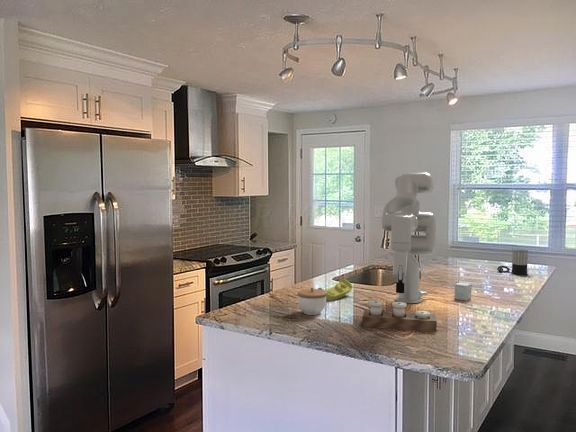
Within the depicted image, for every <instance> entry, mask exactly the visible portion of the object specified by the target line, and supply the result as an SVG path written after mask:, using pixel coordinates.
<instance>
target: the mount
mask: <svg viewBox="0 0 576 432" xmlns="http://www.w3.org/2000/svg"><path fill="white" fill-rule="evenodd" d="M361 317H362V318H361V319H362V321H361V323H362V325H361V326H362V327H365V328H381V329H395V330H408V331H409V330H410V331H411V330H412V331H421V332H423V331H424V332H426V331H427V332H437V325H438V323H437V322H438V320H437V316H436V313H430V317H429V319H421V318H417V316H415V312H406V311H405V317H394V316H393V311H392V310H391V311H387V310H382V316H373V315H370V309H364V310H363V313H362V316H361Z"/></svg>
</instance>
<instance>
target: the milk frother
mask: <svg viewBox="0 0 576 432" xmlns="http://www.w3.org/2000/svg"><path fill="white" fill-rule="evenodd" d="M511 251H512V257H511V258H512V259H511V260H512V262H511V263H512V264H511V268H510V267H508V266H506V265H500V266H498V267H497V268H496V269H497V271H498V272H499V273H509V272H510V271H511V274H512V275H517V276H526V275H528V263H529V262H528V259H529V258H528V256H529V250H527V249H521V248H520V249H518V248H517V249H516V248H515V249H512V250H511ZM504 269H506V270H504Z"/></svg>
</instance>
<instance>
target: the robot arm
mask: <svg viewBox="0 0 576 432" xmlns="http://www.w3.org/2000/svg"><path fill="white" fill-rule="evenodd" d="M394 186H395V189H396V195H395V196H394V197H393V198H391V199H390V200H389V201H388V202H387V203H385V205H384V207H383V210H382V214H381V228H382V229H383V230H384V231H385V232H391V233H390V242H391V243H390V251H392V252H393V257H392V259H393V260H392V276H394V277H395V276H396V283H395V293H396V294H397V296H395V297H394V301H395V302H404V303H406V304H419V303H420V304H421V303H422V302H423V298H422V297H423V296H425V297H426V296H428V292H427V291H421V290H420V263H419V260H417V258H416V257H415V256H425V257H427V256H433V255H434V254H435V252H436V245H437V244H436V242H437V240H436V239H437V237H436V235H437V234H436V231H437V230H436V229H437V223H436V222H437V221H436V216H435V213H432V212H430V211H429V212H427V211H420V200H419V198H418V197H417V194H431V193H433V190H434V188H435V187H434V186H435V181H434V178H433V176H432V175H431V173H429V172H405V173H402V174H401V175H399V176H396V177H395V180H394ZM397 212H398V213H397ZM399 212H400V213H399ZM412 233H424V234H422V235H421V234H412Z"/></svg>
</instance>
